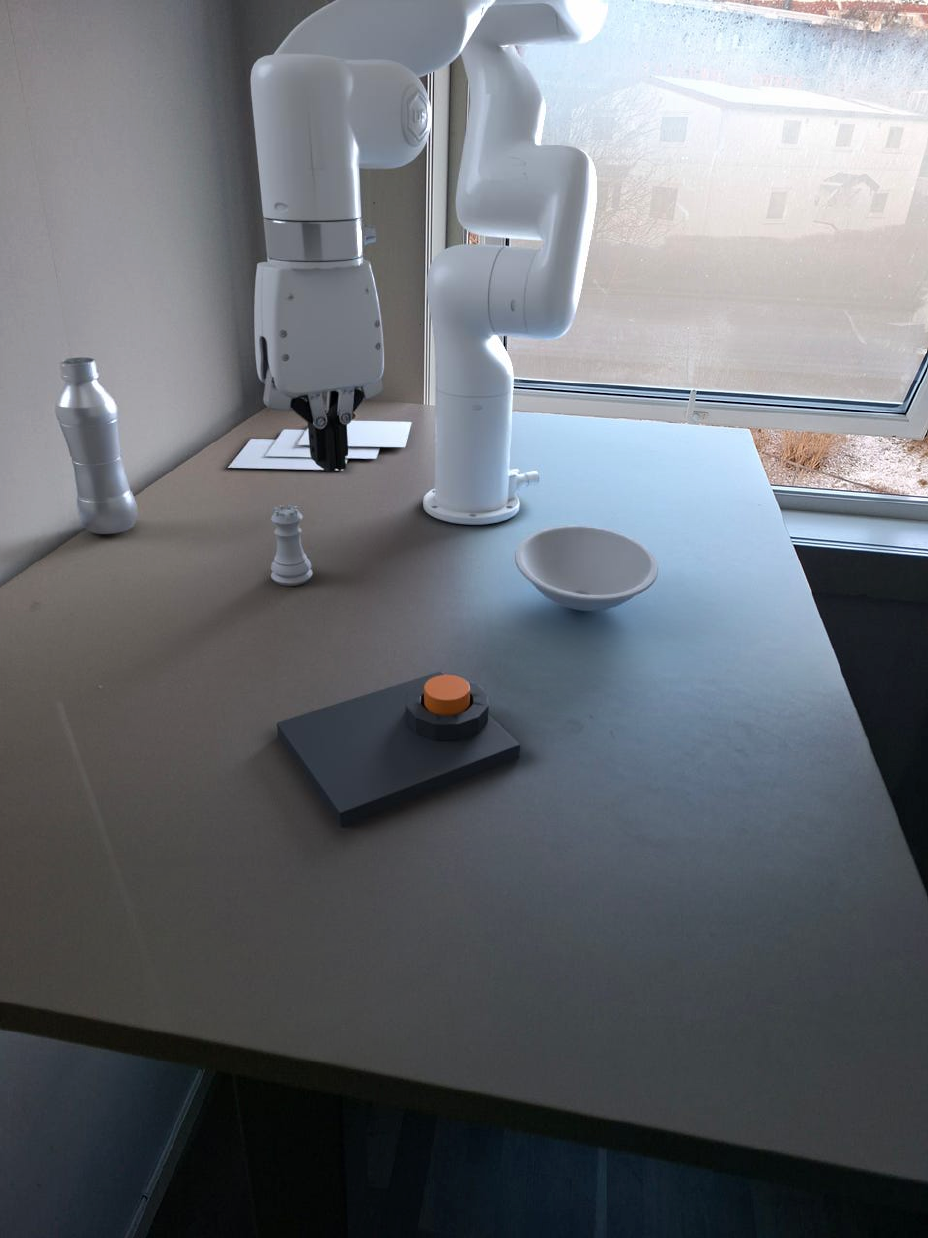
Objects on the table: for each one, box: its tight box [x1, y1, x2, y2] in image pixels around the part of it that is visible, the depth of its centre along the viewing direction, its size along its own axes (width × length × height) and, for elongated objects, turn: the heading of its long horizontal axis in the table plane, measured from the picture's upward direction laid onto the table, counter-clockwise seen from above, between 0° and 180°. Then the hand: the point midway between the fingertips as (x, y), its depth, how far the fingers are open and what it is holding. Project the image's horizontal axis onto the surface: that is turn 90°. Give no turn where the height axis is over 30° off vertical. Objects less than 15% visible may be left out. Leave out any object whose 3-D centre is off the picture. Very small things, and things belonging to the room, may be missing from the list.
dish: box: [514, 524, 659, 612], centre depth 86 cm, size 18×14×5 cm
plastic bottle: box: [54, 356, 138, 535], centre depth 97 cm, size 6×7×20 cm
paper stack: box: [227, 420, 412, 471], centre depth 131 cm, size 23×25×1 cm
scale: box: [276, 671, 521, 828], centre depth 65 cm, size 15×12×3 cm
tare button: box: [424, 674, 470, 715], centre depth 66 cm, size 4×4×2 cm
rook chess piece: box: [270, 504, 313, 587], centre depth 89 cm, size 4×4×8 cm
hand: (330, 466), depth 75 cm, fingers closed
